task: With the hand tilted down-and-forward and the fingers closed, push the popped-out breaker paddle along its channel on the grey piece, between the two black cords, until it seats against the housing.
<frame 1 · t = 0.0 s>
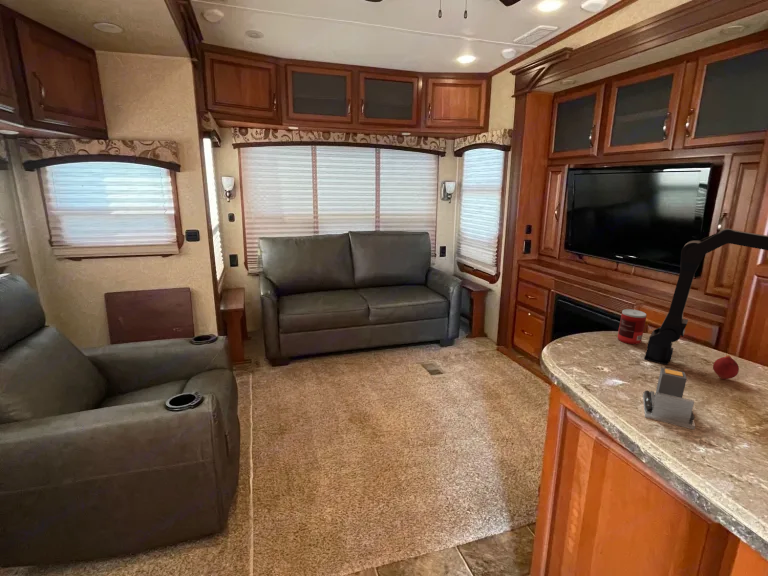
breaker paddle: (670, 387, 102), point 6 cm above the worktop, slide at 0.0 cm
grey piece: (666, 410, 102), on the worktop
canned food: (628, 341, 146), on the worktop
onion: (722, 379, 118), on the worktop
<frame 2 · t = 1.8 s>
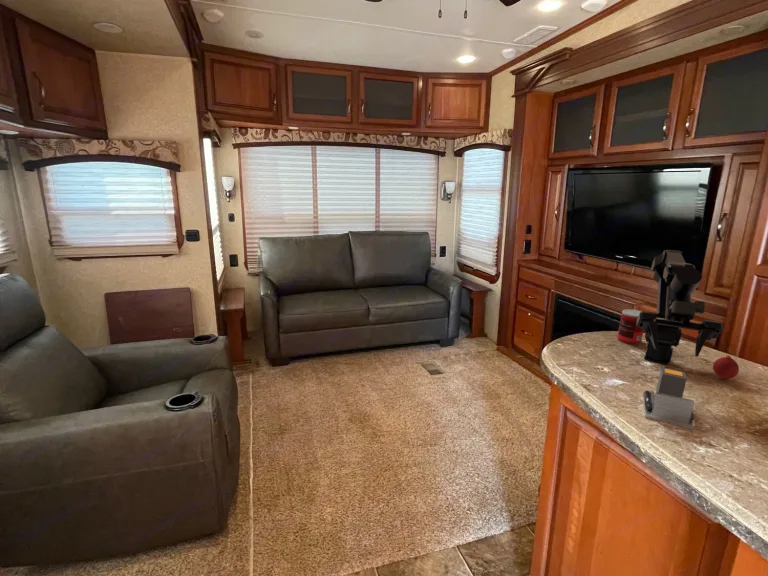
hand: (676, 352, 107), 12 cm above the worktop, tool tilted 45°, fingers open, 9 cm apart
nothing on the worktop moved.
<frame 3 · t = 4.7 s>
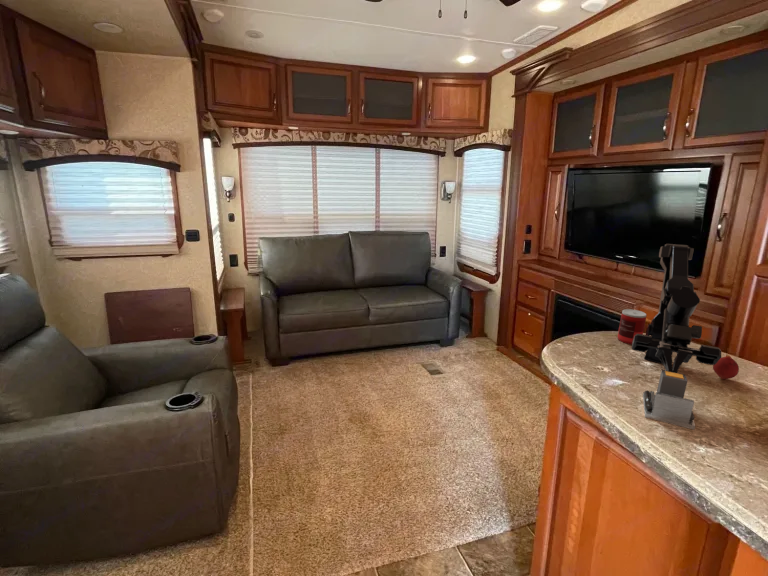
hand: (671, 378, 102), 8 cm above the worktop, tool tilted 45°, fingers closed, pressing on breaker paddle
breaker paddle: (670, 389, 101), point 6 cm above the worktop, slide at 1.4 cm, touching gripper
everything else where it was.
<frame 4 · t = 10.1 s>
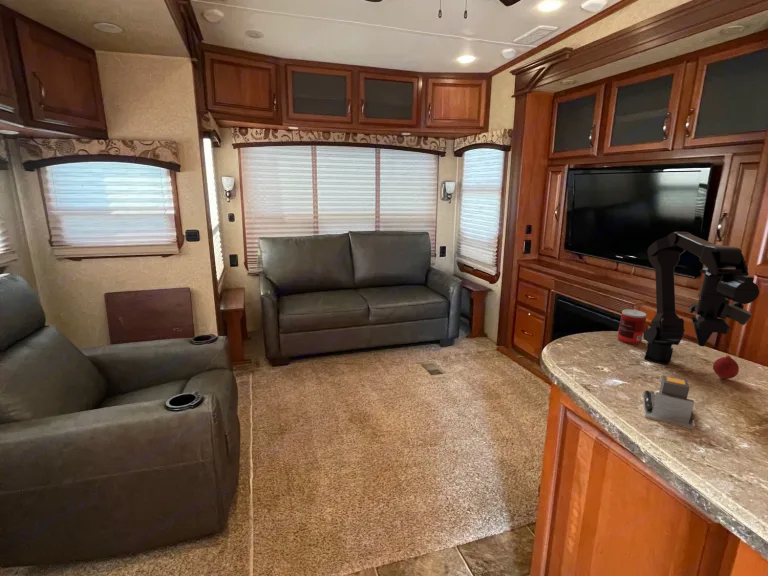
hand: (700, 345, 111), 12 cm above the worktop, tool pointing down, fingers closed
breaker paddle: (672, 396, 98), point 6 cm above the worktop, slide at 5.0 cm
everything else where it was.
at the end: breaker paddle slide at 5.0 cm; breaker paddle touching nothing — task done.
